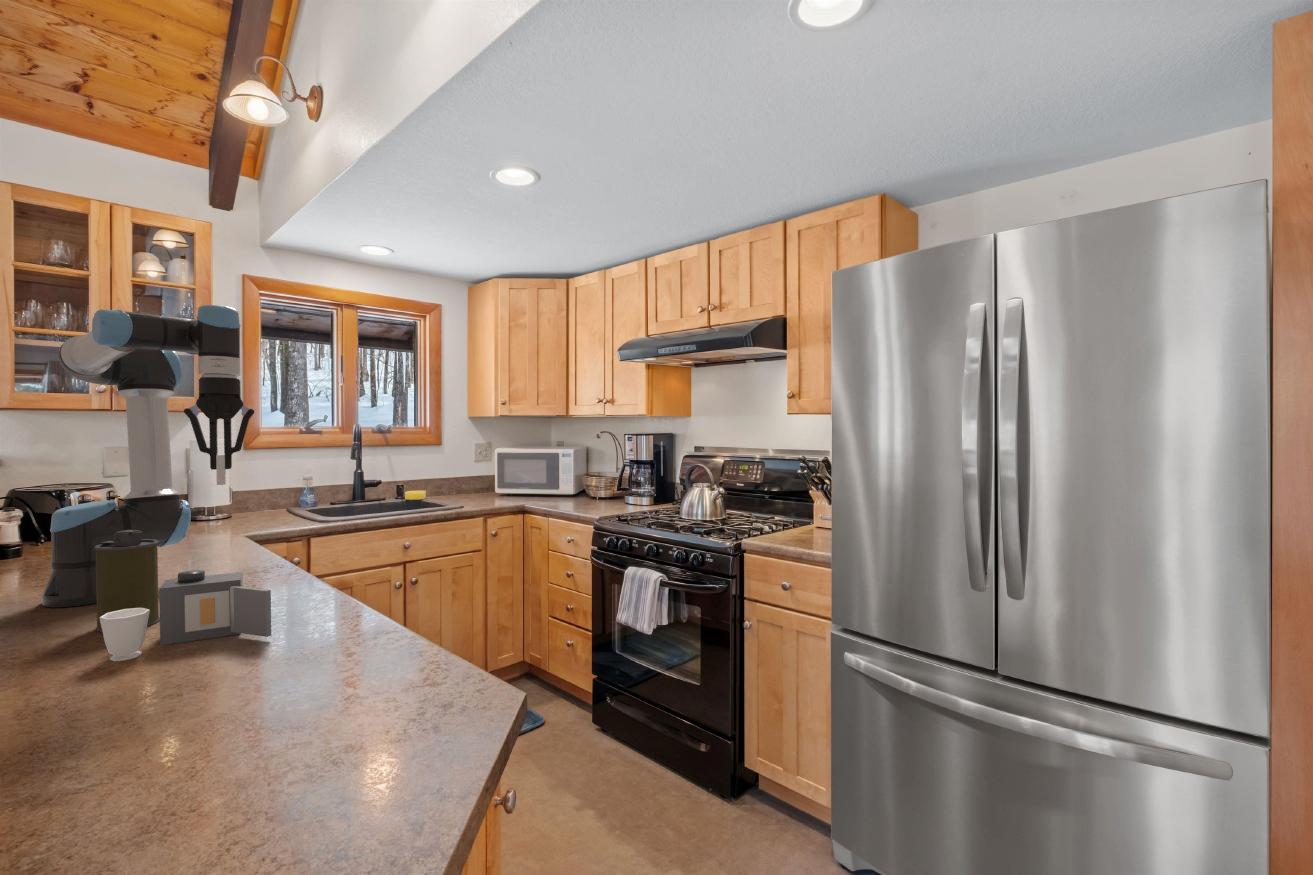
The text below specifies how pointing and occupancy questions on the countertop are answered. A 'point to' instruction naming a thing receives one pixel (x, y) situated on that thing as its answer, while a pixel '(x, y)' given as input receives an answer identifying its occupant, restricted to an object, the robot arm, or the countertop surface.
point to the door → (250, 610)
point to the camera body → (196, 606)
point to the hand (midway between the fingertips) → (221, 484)
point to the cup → (124, 632)
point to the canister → (127, 575)
